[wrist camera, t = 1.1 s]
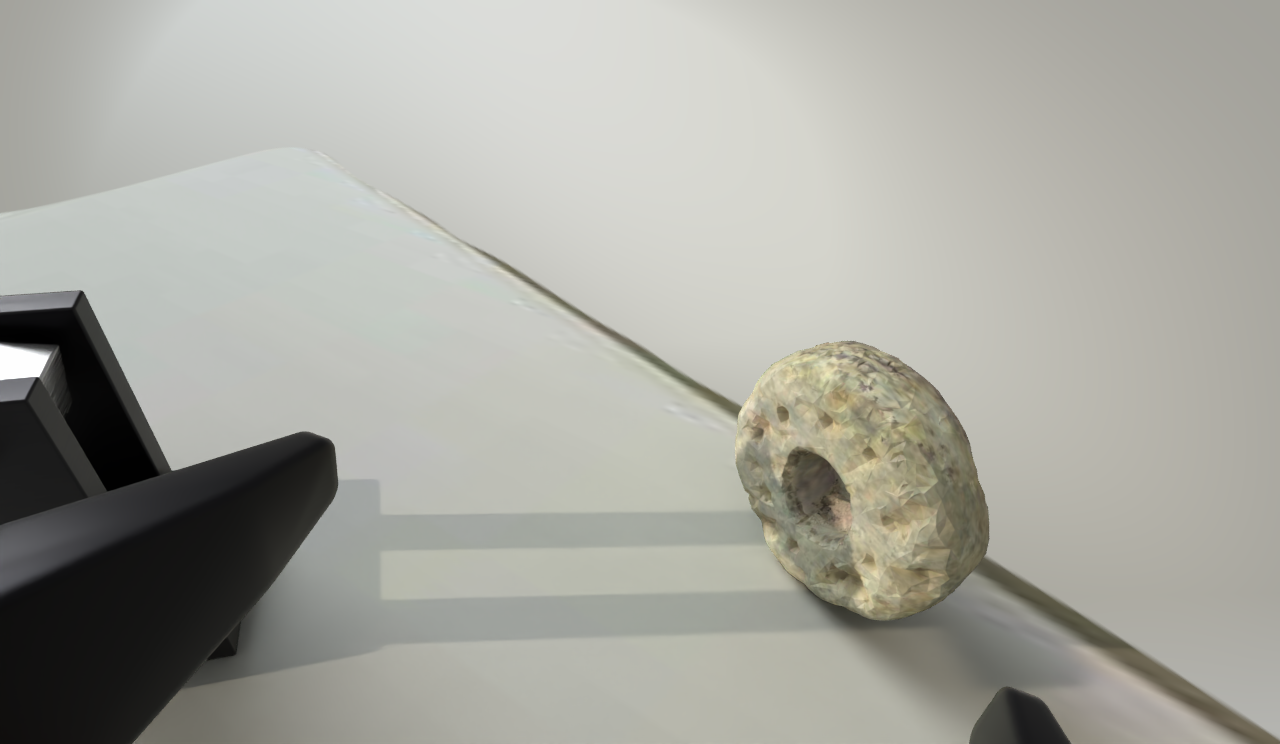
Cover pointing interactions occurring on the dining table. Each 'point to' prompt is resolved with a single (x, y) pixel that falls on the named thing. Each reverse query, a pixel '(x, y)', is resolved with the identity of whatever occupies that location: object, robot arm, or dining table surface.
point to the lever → (37, 368)
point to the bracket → (71, 418)
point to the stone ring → (862, 480)
